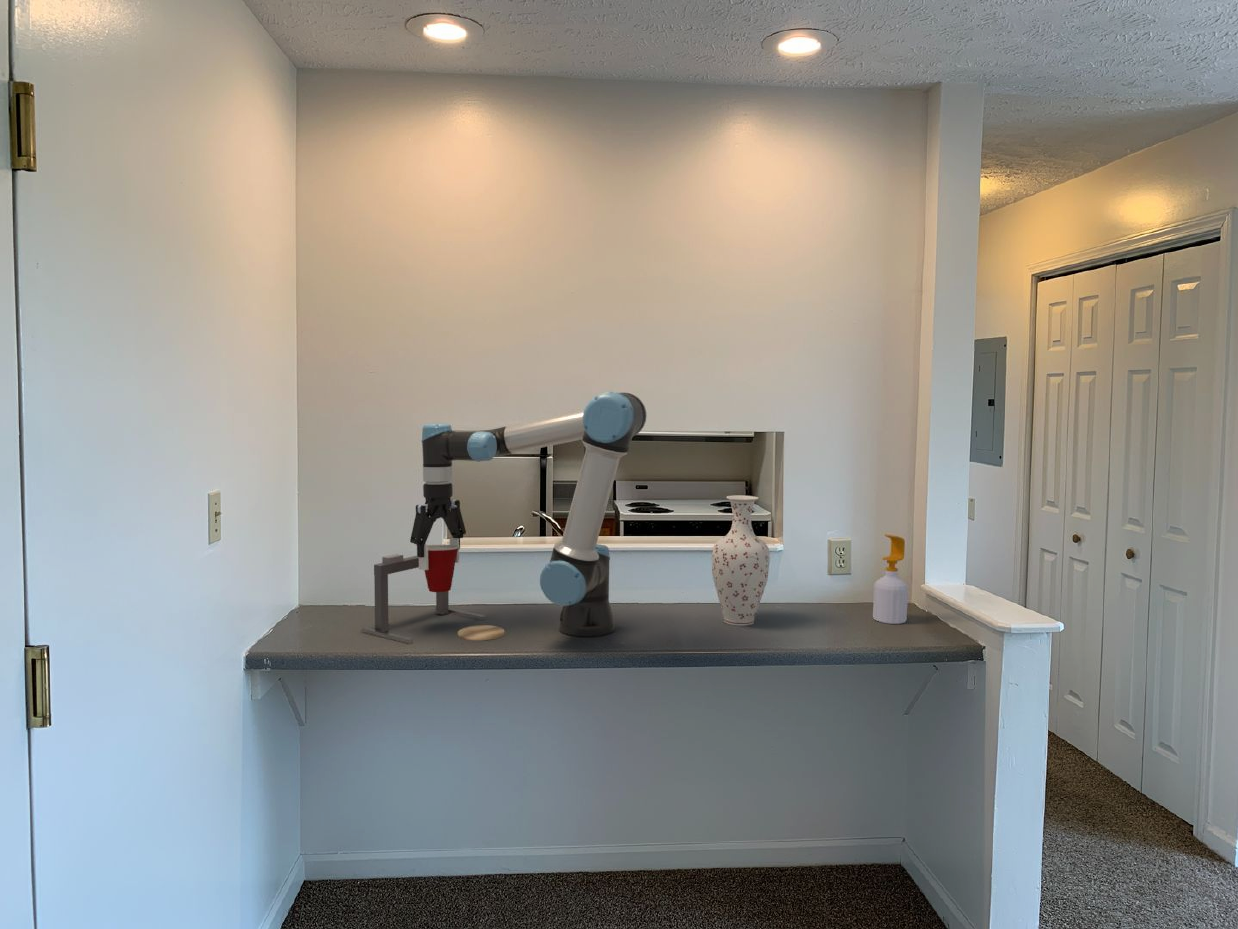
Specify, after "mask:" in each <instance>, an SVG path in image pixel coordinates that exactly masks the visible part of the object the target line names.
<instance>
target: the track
mask: <svg viewBox="0 0 1238 929" xmlns="http://www.w3.org/2000/svg"><path fill="white" fill-rule="evenodd" d="M448 614H451V615H457V616H461V617H466V618H470V619H474V620H479V621H486V615H484V614H478V613H474V612H470V611H469V612H468V611H464V610H459V609H456V608H455V609H454V608H450V607H449V613H448ZM360 632H361V633H364V634H368V635H372V636H378V637H380V638H384V639H388V640H392V641H397V642H401V643H405V644H408V645H411V644H413V643H414V638H411V637H407V636H403V635H399V634H395V633H392V632H391V633H390V632H388V631H385V632H383V631H379V630H375V628H370V627H365V626H363V627H361V628H360Z"/></svg>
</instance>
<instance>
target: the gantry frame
mask: <svg viewBox="0 0 1238 929" xmlns="http://www.w3.org/2000/svg"><path fill="white" fill-rule="evenodd" d="M381 558H382V562H380V563H376V564H375V563H374V565H373V575H374V576H373V577H374V579H373V580H374V629H375V630H379V631H383V632H388V631H389V575H390V574H391V575H392V574H395V573H400V572H404V571H409V570H413V569H417V568H418V569H419V557H418V556H417V555H415V556H414V555H413V556H409V557H404V555H403V554H399V553H396V554H391V555H390V554H389V555H385V556H382V557H381ZM449 591H450V590H449ZM449 591H446V592H435V599H436V600H435V604H436V606H435V611H436V613H435V614H437V615H438V614H439V615H442V616H443V615H446V614H450V613H449V608H450V606H449V604H450V603H449V602H450V600H449V597H450V596H449Z"/></svg>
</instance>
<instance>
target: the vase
mask: <svg viewBox="0 0 1238 929" xmlns="http://www.w3.org/2000/svg"><path fill="white" fill-rule="evenodd" d="M726 499H727V500H728V501H729V503H730V506H731V510H732V513H731V514H732V519H731V520H732V522H731V523H732V524H731V526H730V530H729V531H728V533H727V534H726V535H724V536H723V537H721V538H720V539H718V540H717V541H716V542H715V544H714V546H713V547H712V553H711V569H712V570H711V572H712V574H711V575H712V580H713V584H714V587H715V590H716V594H717V597H718V601H719V605H720V607H721V608H720V609H721V612H722V616H723V622H724V623H726V624H728V625H731V626H738V627H740V626H741V627H742V626H751V625H754V624H755V618H756V614H757V612H758V608H759V606H760V603H761V600H762V597H763V594H764V592H765V588H766V586H767V582H768V579H769V571H770V561H771V560H770V559H771V556H770V549H769V546H768V545H767V543H766V542H765V541H763V540H762V539H761V538H759V537H758V536H757V535H756V534H755V532H754V529H753V526H752V512H753V507H754V504H755V502H756V501H758V500H759V497H758V496H753V495H740V494H739V495H734V494H733V495H727V496H726Z"/></svg>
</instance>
